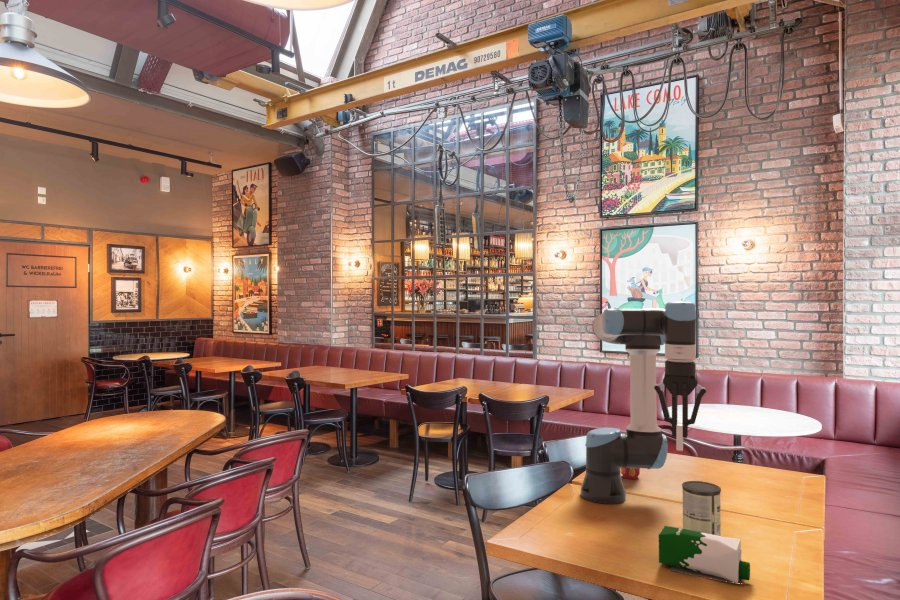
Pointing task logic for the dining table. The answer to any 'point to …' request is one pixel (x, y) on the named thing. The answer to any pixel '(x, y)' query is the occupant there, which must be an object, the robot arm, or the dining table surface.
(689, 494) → the coffee can
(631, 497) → the dining table surface
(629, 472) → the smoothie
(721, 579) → the mat
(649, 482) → the dining table surface
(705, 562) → the soya milk
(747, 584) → the dining table surface
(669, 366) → the robot arm
